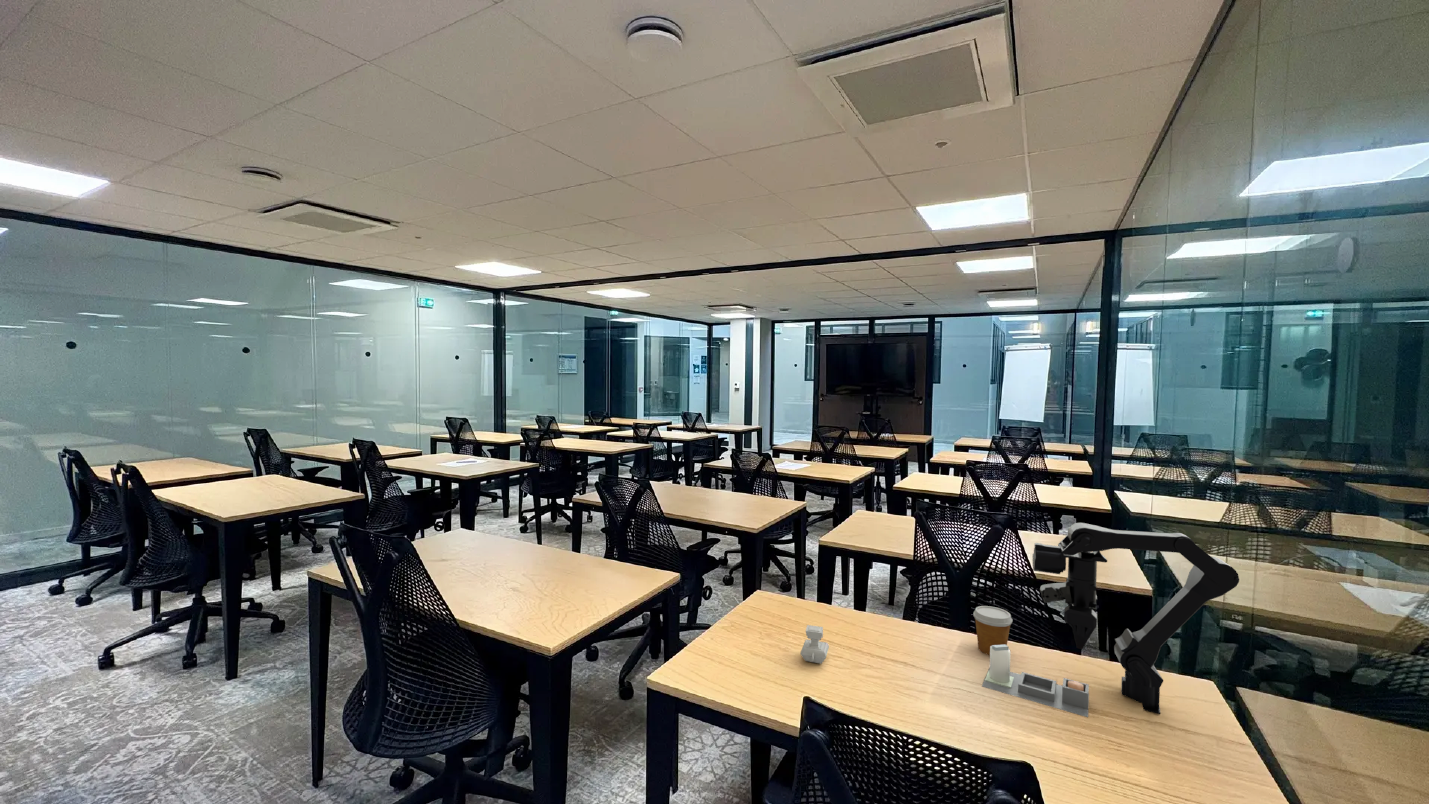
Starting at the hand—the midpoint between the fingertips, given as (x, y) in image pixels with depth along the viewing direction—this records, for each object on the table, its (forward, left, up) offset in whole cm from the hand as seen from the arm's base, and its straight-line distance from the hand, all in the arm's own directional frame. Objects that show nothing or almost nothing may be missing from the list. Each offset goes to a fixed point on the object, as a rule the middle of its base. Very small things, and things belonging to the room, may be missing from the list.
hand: (1080, 641), depth 132 cm
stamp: (+58, +24, -12) cm, 64 cm away
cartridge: (+16, +9, -10) cm, 21 cm away
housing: (+8, +9, -12) cm, 17 cm away
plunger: (+1, +9, -10) cm, 13 cm away
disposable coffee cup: (+20, -7, -12) cm, 24 cm away
